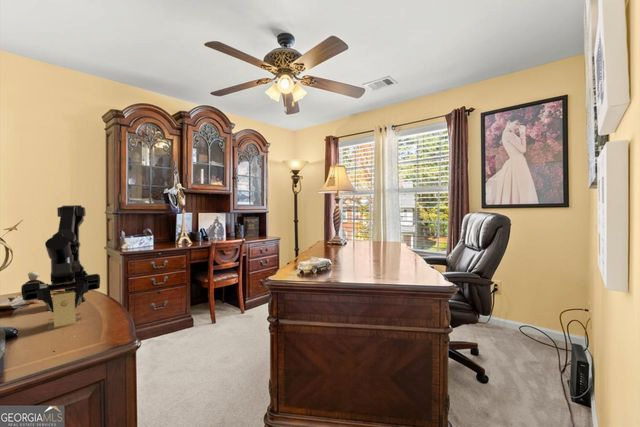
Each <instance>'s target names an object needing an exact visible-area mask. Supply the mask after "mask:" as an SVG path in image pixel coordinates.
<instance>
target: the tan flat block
mask: <svg viewBox="0 0 640 427" xmlns="http://www.w3.org/2000/svg"><path fill="white" fill-rule="evenodd" d="M81 315H82V314H81V313H75V316H76V324H72V325H68V326H63V327H59V328H54V318H49V319H48V322H47V332H50V331H55V330H59V329H63V328H68V327H73V326H77V325H82V324H83V321H82V316H81Z"/></svg>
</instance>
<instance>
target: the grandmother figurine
mask: <svg viewBox="0 0 640 427" xmlns="http://www.w3.org/2000/svg"><path fill="white" fill-rule="evenodd" d="M27 276H28V281H26V282H25V283H32V282H39V281H40V284H46V283H45V282H44V281H42V280H39V279H38V278H39V276H40V274H39V272H37V271H30V272H28V273H27ZM41 301H42V300H40V301H39V300H38V299H34V300H27V301H25V303H24V305H30V304H34V305H35V304H39V303H40V302H41Z"/></svg>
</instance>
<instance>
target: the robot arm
mask: <svg viewBox="0 0 640 427" xmlns="http://www.w3.org/2000/svg"><path fill="white" fill-rule="evenodd" d="M57 217H58V218H59V223H58V228H57V232H56V233H54V234H52V236H51V237H50V238H48V239H47V240H46V241H45V249H46V252H47V255H48V258H49V259H50V284H49V283H45V284H40V281H41V280H40V281H39V282H32V283H26V282H25V283H23V284H22V285H21V289H20V290H21V291H20V292H21V296H22V301H25V302H28V300H34V299H38V300H39V301H42V302H43V303H45V305H46V304H47V306H48V307H49V309H50V310H49V311H51V313H53V314H54V310H53V302H52V298H51V297H52V294H51V292H54V291H55V292H56V291H61V290H64V292H65V291H71V290H74V293H76V296H75V309H77V308H78V306H79V305H80V304H79V301H80V299H81V303H82V302H86V298H85V296H84V294H88V292H89V291H94V290H98V289H100V287H101V275H100V274H99V273H93V274H88V273H87V271H86V270H85V267H84V265H82V263H81V261H80V248H81V242H80V226H81V225H82V224H83V222H85V221H84V220H85V219H84V218H85V217H86V208H85V207H83V206H82V205H81V204H80V205H74V204H73V205H62V206H60V207H57Z"/></svg>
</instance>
